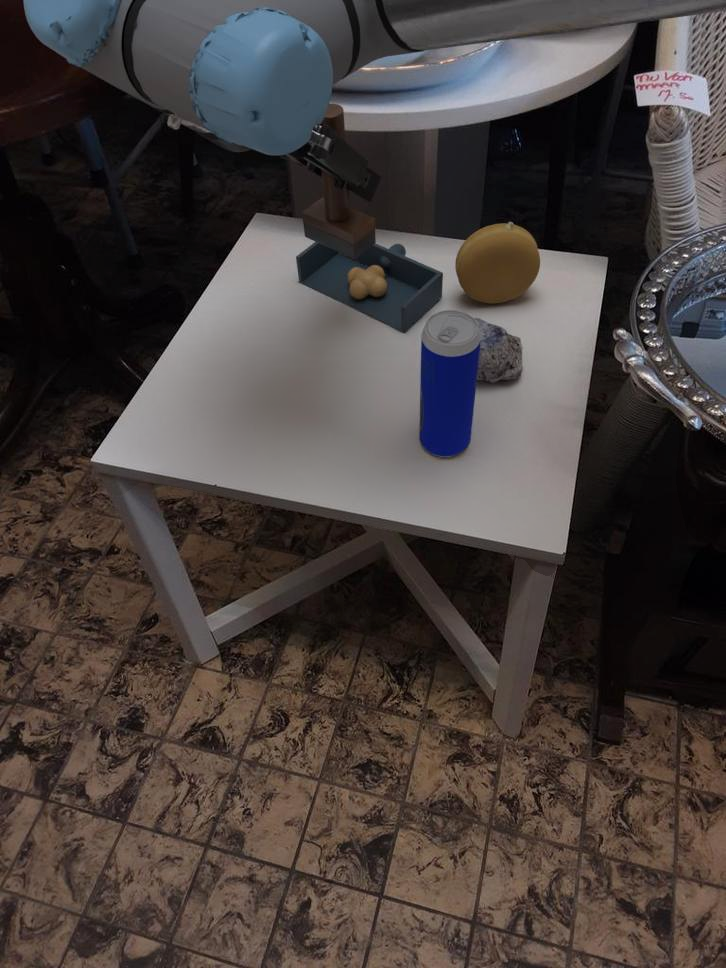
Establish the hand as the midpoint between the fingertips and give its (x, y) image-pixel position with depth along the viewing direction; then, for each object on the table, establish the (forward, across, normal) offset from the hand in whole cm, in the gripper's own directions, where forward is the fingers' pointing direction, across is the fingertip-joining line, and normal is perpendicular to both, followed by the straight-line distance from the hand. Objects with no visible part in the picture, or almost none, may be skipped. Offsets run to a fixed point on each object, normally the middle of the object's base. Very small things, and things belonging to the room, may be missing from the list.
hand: (360, 183), depth 80 cm
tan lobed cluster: (+11, 0, -10) cm, 15 cm away
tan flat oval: (+17, +12, -5) cm, 21 cm away
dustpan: (+12, -1, -9) cm, 15 cm away
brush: (+1, 0, -6) cm, 6 cm away
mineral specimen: (+10, +16, -12) cm, 22 cm away
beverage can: (+1, +20, -20) cm, 28 cm away
